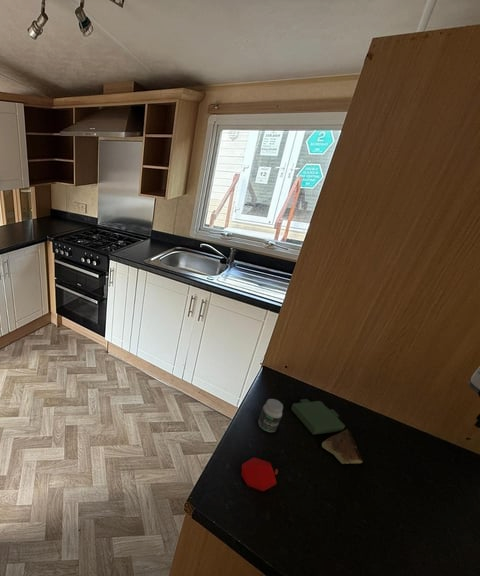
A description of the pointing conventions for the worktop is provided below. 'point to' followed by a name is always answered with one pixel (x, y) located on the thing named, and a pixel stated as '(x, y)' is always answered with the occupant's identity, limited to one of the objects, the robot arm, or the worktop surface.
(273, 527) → the worktop surface
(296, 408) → the rubber pad
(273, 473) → the apple
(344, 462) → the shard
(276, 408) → the pill bottle
